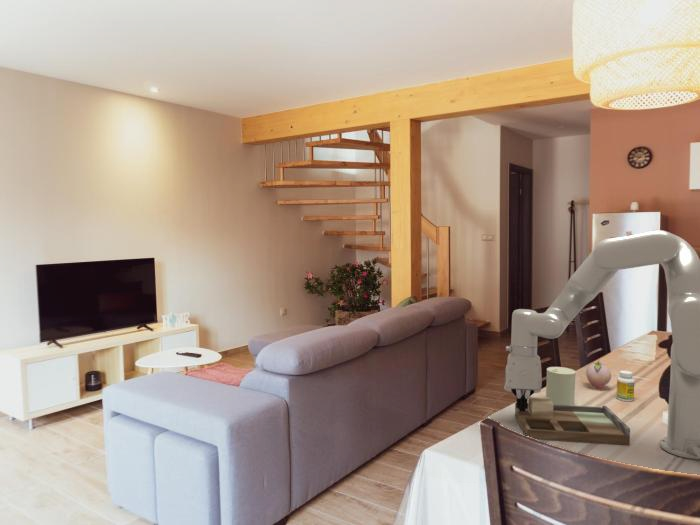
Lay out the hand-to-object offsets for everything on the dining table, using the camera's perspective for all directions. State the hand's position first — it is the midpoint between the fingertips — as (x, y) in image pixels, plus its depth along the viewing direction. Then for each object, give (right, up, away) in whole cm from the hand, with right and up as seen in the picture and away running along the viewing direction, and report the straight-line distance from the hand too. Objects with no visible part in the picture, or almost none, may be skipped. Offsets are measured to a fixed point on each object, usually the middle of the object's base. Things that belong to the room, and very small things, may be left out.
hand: (521, 410), depth 163 cm
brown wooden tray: (+12, -4, -5) cm, 14 cm away
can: (+18, -3, +17) cm, 25 cm away
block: (+5, -1, -1) cm, 5 cm away
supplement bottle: (+43, -3, +23) cm, 49 cm away
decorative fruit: (+40, -2, +36) cm, 53 cm away
